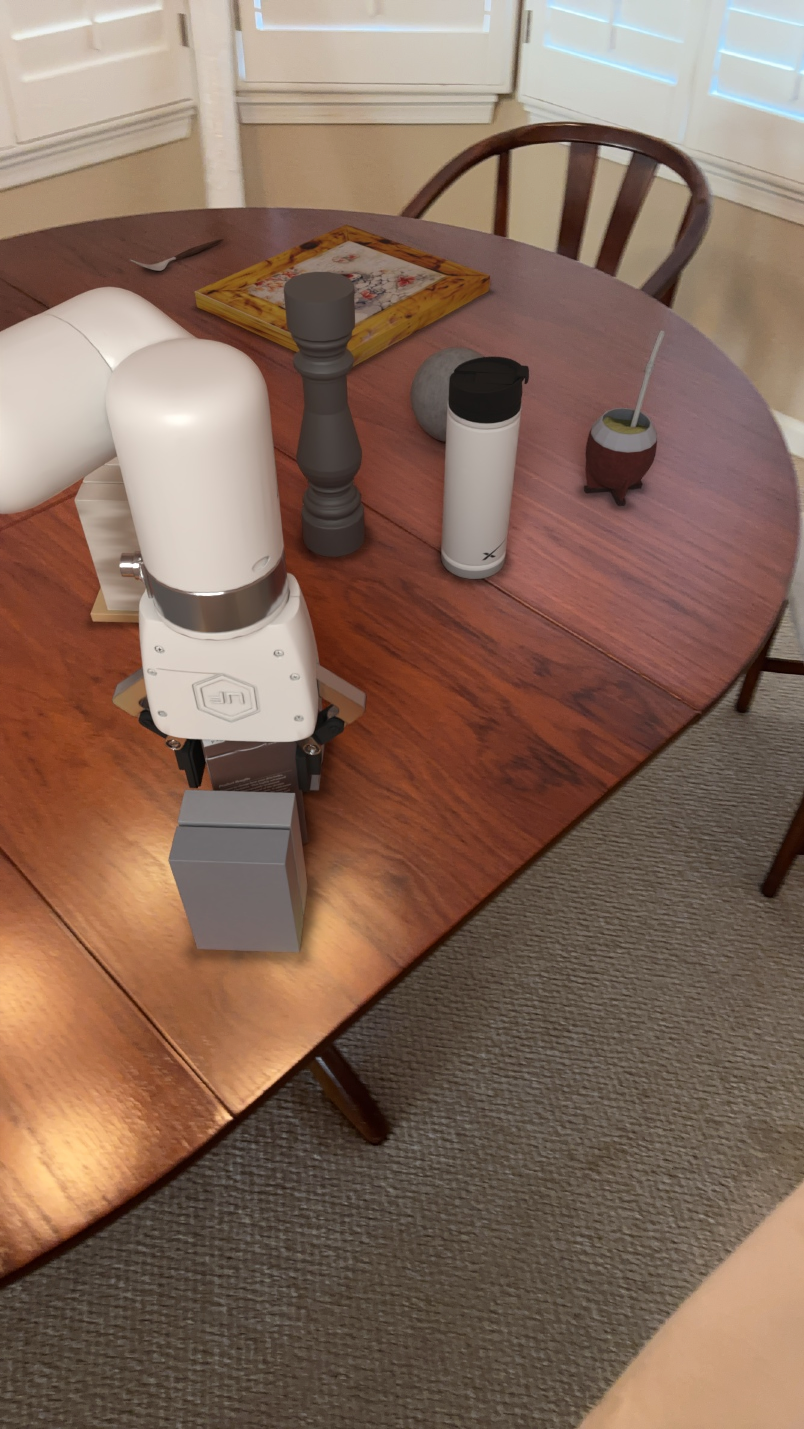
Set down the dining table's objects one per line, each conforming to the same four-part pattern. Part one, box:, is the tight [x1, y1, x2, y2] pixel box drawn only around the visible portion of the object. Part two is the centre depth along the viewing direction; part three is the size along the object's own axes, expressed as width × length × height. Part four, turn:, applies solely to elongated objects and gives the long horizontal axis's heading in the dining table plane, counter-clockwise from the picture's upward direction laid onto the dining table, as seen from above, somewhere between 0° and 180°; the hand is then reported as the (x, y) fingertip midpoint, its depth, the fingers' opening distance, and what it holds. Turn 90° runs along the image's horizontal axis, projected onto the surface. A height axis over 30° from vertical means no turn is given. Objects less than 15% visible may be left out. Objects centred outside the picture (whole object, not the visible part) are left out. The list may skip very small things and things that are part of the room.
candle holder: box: [284, 272, 366, 558], centre depth 85 cm, size 6×6×25 cm
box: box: [200, 739, 309, 845], centre depth 66 cm, size 6×4×12 cm
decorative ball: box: [409, 346, 485, 443], centre depth 103 cm, size 10×10×10 cm
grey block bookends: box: [167, 641, 325, 954], centre depth 66 cm, size 7×19×11 cm, turn 178°
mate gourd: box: [583, 330, 666, 507], centre depth 95 cm, size 8×8×15 cm
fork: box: [129, 238, 224, 272], centre depth 138 cm, size 3×16×2 cm, turn 136°
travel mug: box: [440, 355, 530, 580], centre depth 85 cm, size 6×7×20 cm
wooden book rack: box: [73, 457, 146, 624], centre depth 87 cm, size 10×18×13 cm, turn 178°
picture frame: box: [194, 224, 491, 367], centre depth 129 cm, size 27×2×30 cm
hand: (252, 772), depth 65 cm, fingers closed on box, 6 cm apart
